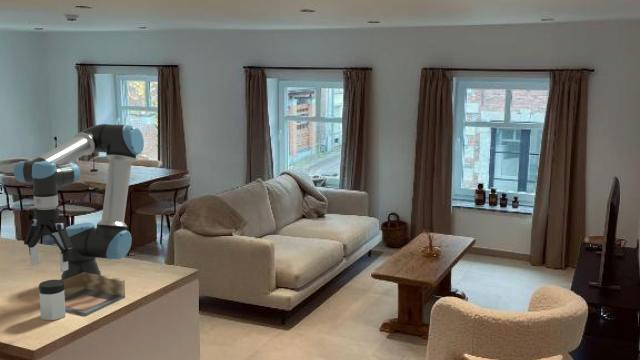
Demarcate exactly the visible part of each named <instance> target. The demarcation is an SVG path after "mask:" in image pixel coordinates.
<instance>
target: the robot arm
mask: <svg viewBox="0 0 640 360" xmlns="http://www.w3.org/2000/svg"><path fill="white" fill-rule="evenodd" d="M144 142H145V141H144V136H143V133H142V131H141V130H140V128H139V127H137V126H136V125H131V124H130V125H129V124H107V123H101V124H100V123H99V124H97V125H94V126H90V127H88V128H86V129H84V130H82V131H80V132H78V133H76V134H75V135H74V136H73V138H72V139H70V140H68V141H66V142H64V143H62V144H60V145H58V146H57V147H55V148H53V149H52V150H49V151H47V152H46V153H44V154H42V155H40V156H38V157H37V158H34V159H33V160H30V161H27V160H24V161H23V160H22V161H19V162H17V163H16V164H15V166H14V168H13V175H14V178H15V180H17V181H18V182H21V183H26V184H32V188H33V189H32V190H33V194H32V195H33V208H34V210H33V211H34V212H33V213H34V218H33V219H29V224H28V225H29V226H28V229H27V232H26V234H25V238H24V240H23V244H24V245H27V247H28V249H29V250H28V252H29V256H30V266H31V267H34V266H37V265H39V264H40V261H39V259H40V257H39V246H38V243H39V240H40V239H41V238H42V237H43V235H47V236H49V237H50V238H52V239H53V241H54V242H55V244H56V246H57V247H58V248H59V250H60V251H61V252H59V263H60V264H59V267H60V272H61V273H62V274H61V277H60V278H61V279H60V280H65V279H67V278H70V277H72V276H75V275H78V274H80V273H83V272H86V273H91V274H97V275H102V273H101V270H99V269H100V268H99V265H98V262H97V261H96V258H99V259H106V260H107V259H108V260H121V259H123V258H124V257H126V255H127V254H128V253H129V251H130V249H131V247H132V240H133V239H132V238H133V237H132V234H131V233H130V231H129V230H128V225H127V224H126V223H125V216H126V209H127V199H128V194H129V183H130V178H131V169H132V164H133V163H134V162H135V161H136V160H137V156H138V155H141V154H142V151H144V145H145V143H144ZM94 153H106V155H105V157H106V158H107V159H108V168H107V169H108V170H107V178H106V185H105V191H104V192H105V193H104V198H103V200H104V201H103V207H102V214H101V219H100V221H98V222H97V223H96V227H95V224H94V223H93V222H81V223H75V224H72V225H69V226H67V227H66V223H65V222H61V223H60V222H59V223H58V219H59V216H60V212H59V207H58V206H59V193H58V188H60V187H64V186H68V185H72V184H75V183H76V182H78V181H79V180H80V178H81V175H82V174H81V169H80V167H79V166H78V164H76V163H75V161H77V160H78V159H79V158H81V157H84V156H90V155H92V154H94Z"/></svg>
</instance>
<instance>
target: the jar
mask: <svg viewBox="0 0 640 360" xmlns="http://www.w3.org/2000/svg"><path fill="white" fill-rule="evenodd" d="M38 291H39V310H40V311H39V312H40V320H43V321H45V320H46V321H56V320H59V319H63V318H65V317H66V314H67V313H66V312H67V311H66V307H65V288H64V281H62V280H61V279H48V280H45V281H42V282H40V283H39V284H38Z"/></svg>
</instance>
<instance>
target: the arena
mask: <svg viewBox="0 0 640 360" xmlns="http://www.w3.org/2000/svg"><path fill="white" fill-rule="evenodd" d="M62 281H64V288H65V307H66V312H68V313H72V314H76V315H81V316H86V317H88V316H89V315H91V314H94V313H95V312H98V311H100V310H102V309H104V308H105V307H106V308H107V306H110V305H112V304H114V303H116V302H119V301H121V300H123V299H126V285H125V282H126V281H125V279H122V278H117V277H112V276H106V275H102V274H101V275H97V274H91V273H86V272H83V273H80V274H78V275H75V276H72V277H70V278H67V279H65V280H62Z"/></svg>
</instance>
